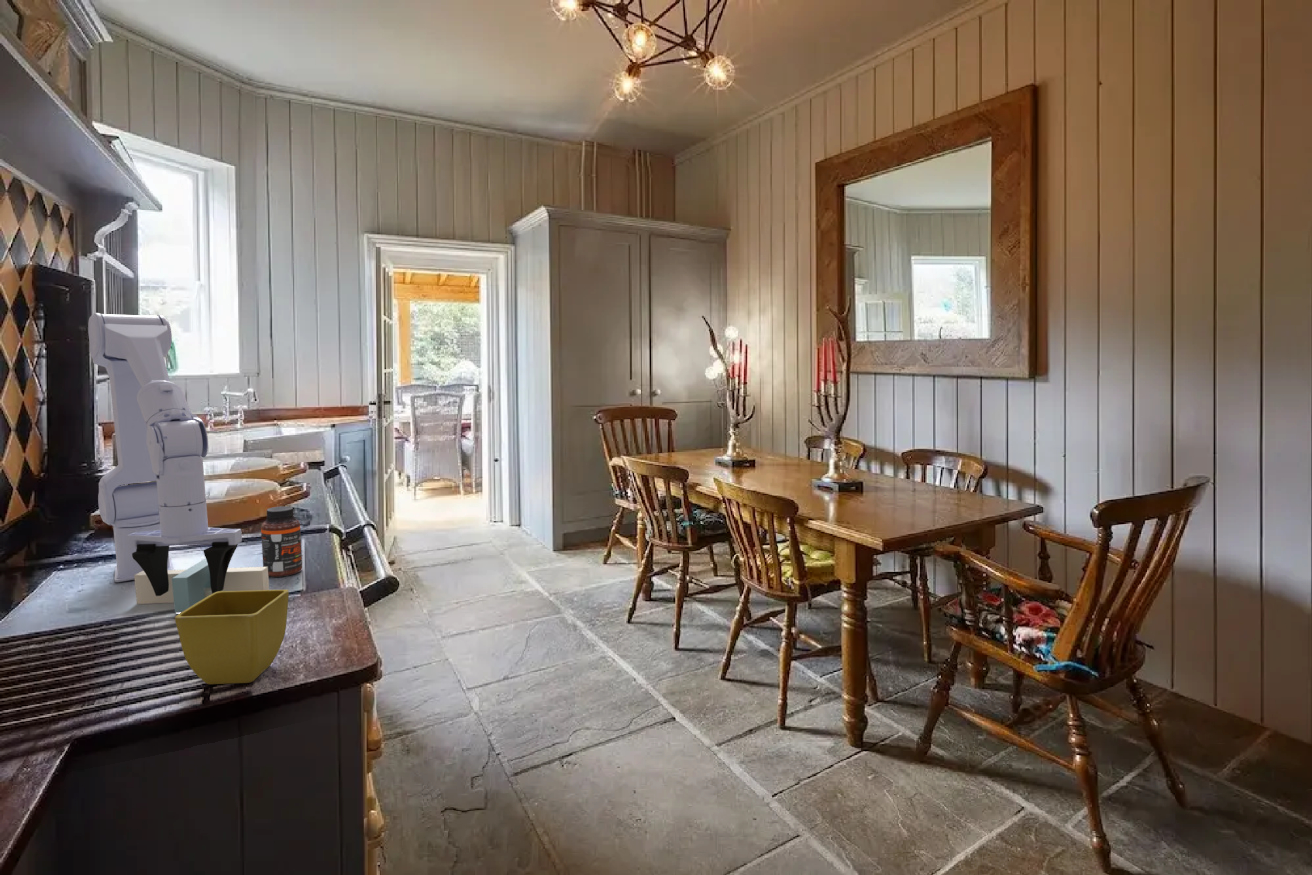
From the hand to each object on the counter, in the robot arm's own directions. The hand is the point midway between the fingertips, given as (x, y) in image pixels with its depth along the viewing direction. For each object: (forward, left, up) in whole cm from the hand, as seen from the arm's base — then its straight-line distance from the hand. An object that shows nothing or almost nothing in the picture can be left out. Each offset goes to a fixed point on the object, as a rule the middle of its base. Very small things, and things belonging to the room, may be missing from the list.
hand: (190, 592), depth 102 cm
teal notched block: (-3, +2, -2) cm, 4 cm away
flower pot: (+29, +3, -3) cm, 29 cm away
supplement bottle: (-10, +14, -3) cm, 18 cm away
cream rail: (-3, +2, -2) cm, 4 cm away
